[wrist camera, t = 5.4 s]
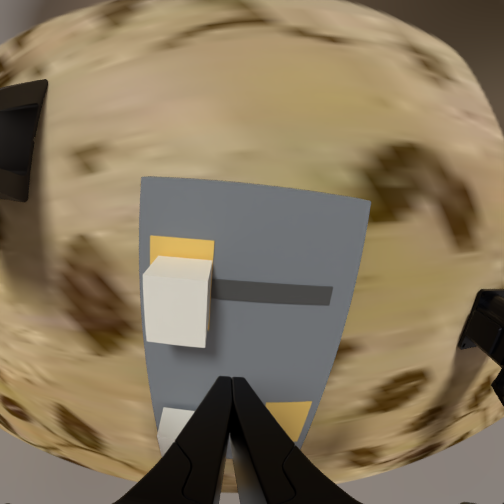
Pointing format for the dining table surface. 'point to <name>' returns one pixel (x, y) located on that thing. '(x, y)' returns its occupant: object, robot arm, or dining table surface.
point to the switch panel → (255, 289)
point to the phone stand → (18, 136)
